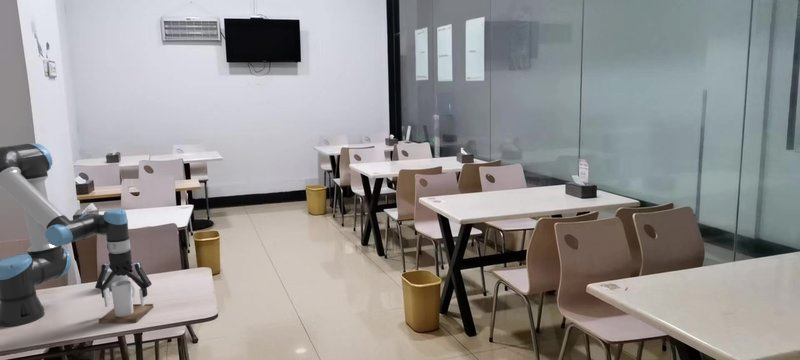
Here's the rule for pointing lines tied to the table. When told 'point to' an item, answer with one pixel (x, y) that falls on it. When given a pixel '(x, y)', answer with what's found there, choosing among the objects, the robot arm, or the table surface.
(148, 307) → the wooden coaster
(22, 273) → the robot arm
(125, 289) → the mug
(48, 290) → the table surface
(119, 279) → the toilet tissue
